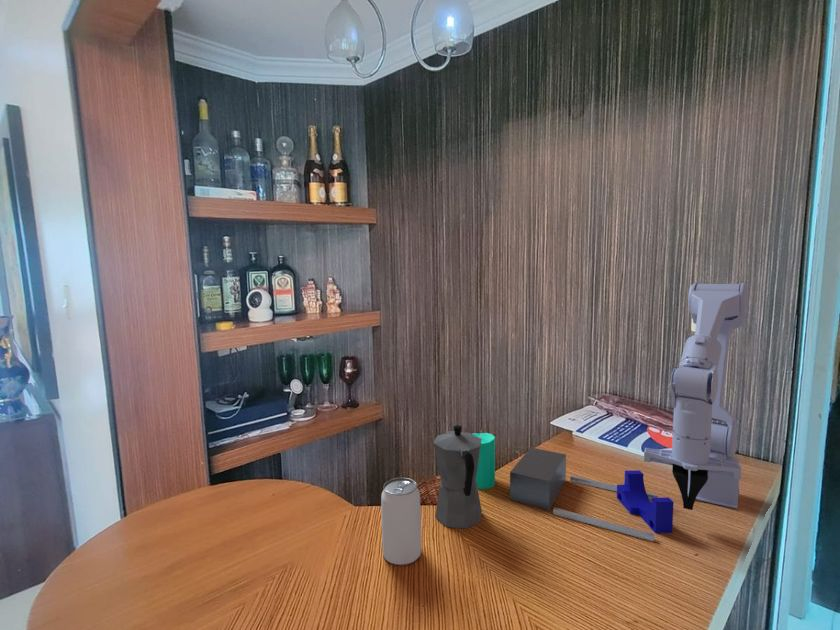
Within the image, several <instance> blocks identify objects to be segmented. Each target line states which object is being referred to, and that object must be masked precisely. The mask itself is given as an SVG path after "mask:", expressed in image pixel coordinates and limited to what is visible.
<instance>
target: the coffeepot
mask: <svg viewBox="0 0 840 630" xmlns="http://www.w3.org/2000/svg"><path fill="white" fill-rule="evenodd" d="M452 427H453V429H452V430H445V433H443V434H438V435H436V437H435V439H434V441H433V448H434V454H435V460H436V465H437V472H438V476H439V477H440V483H439V490H438V495H437V496H438V497H437V501H436V502H437V503H436V507H435V508H436V510H435V516H434V517H435V519H436V520H437V521H438V522H439V523H440V524H441V525H443V526H445V527H448V528H451V529H458V530H460V529H461V530H463V529H469V528H473V527H474V526H476V525H478V524H479V523H481V520H482V514H483V513H482V511H483V510H482V504H481V500H480V494H479V489H478V487H477V483H476V475H477V469H478V461H479V454H480V447H481V440H482V439H481V438H479V437H477V436H475V435H473V433H471V432H462V428H463V426H462V425H459V424H457V425H453V426H452Z"/></svg>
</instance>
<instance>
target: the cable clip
mask: <svg viewBox="0 0 840 630" xmlns="http://www.w3.org/2000/svg"><path fill="white" fill-rule="evenodd" d="M616 485H617V492H616V499H617V500H618V501H619V503H621V505H622V506H623V507H624V508H625V510H626V511H627V512H628V511H629V512H628V513H629V515H638V516H639V517H640V516H641V517H640V518H642V520H643V521H644V522H645V523H646V525H647V526H648V527H649V528H650V529H651V530H652V532H654V533H653V534H673V525H674V524H673V523H674V504H675V503H674V501H673V500H672V499H671V498H670V497H658V498H652V500H650V499H649V498H648V496H647V493H646V492H647V491H646V486H645V480H644V473H643V472H642V471H641V470H639V469H638V470H636V469H635V470H624V483H623V484H616Z"/></svg>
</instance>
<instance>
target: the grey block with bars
mask: <svg viewBox="0 0 840 630" xmlns="http://www.w3.org/2000/svg"><path fill="white" fill-rule="evenodd" d="M566 461H567V454H565V453H562V452H557V451H550V450H545V449H540V448H537V447H530V448H529V449H528V450H527V451H526V452H525V453H524V454H523V456H522V457H521V458H520V459H519V460H518V462H517V463H516V465H514V466H513V468H512V469H511V470H510V471H509V500H510V501H512V502H516V503H520V504H522V505H527V506H532V507H535V508H538V509H542V510H546V511H550V510H551V508H552V506H553V505H554V503H555V501H556V499H557V497H558V496H559V493H560V491H561V490H562V488H563V486H564V484H565V482H566V481H567V480H566V479H567V476H566V475H567V471H566V470H567V462H566ZM569 479H570V482H573V483H577V484H582V485H586V486H590V487H595V488H598V489H603V490H607V491H612V492H616V493H617V485H618V484H611V483H607V482H605V481H604V482H603V481H598V480H595V479H589V478H585V477H581V476H576V475H570V478H569ZM646 493H647V496H648V498H649V500H650V499H652V498H659V494H657V493H652V492H647V491H646ZM552 510H553V511H552V514H553V515H556V516H558V517H561V518H566V519H568V520H572V521H576V522H579V521H580V523H584V524H586V525H590V524H591V525H590V526H595V527H599V528H602V529H606V530H608V531H613V532H617V533H620V534H624V535H627V536H630V537H635V538H639V539H643V540H644V541H650V542H651V543H653V542H654V537H655V533H652V532H648V531H645V530H640V529H636V528H634V527H629V526H625V525H622V524H618V523H615V522H610V521H606V520H603V519H598V518H596V517H592V516H588V515H584V514H579V513H577V512H573V511H570V510H565V509H562V508H559V507H555V506H554V508H553V509H552Z"/></svg>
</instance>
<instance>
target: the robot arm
mask: <svg viewBox="0 0 840 630" xmlns="http://www.w3.org/2000/svg"><path fill="white" fill-rule="evenodd" d="M749 294H750V293H749V285H747V284H746V283H745V282H741V283H698V282H693V283H692V284H691V285H690V286H689V290H688V295H687V296H688V297H687V300H688V302H687V305H688V309H689V312H690V317H691V319H692V322H693V324H695V331H694V335H692V336H689V337H688V338H687V339H686V341H685V344H684V348H683V351H682V353H681V357H680V358H681V359H680V361H679V364H678V368H676V367H674V368H672V373H671V375H670V382H669V383H670V385H669V387H670V395H671V407H673V417H672V418H673V419H672V420H673V421H672V440H671V449H658V448H649V447H644V450H643V451H644V452H643V453H644V454H643V462H647V463H651V462H652V463H657V464H658V463H659V464H665V465H668V466H669V465H670V466H672V468H671V469H672V470H671V473H672V476H673V478H674V480H675V481H676V483H677V486H678V488H679V491H680V496H681V499H682V505H683V507H682V508H683V509H686V510H690V511H693V510H694V504H695V502H696V501H699V502H704V503H710V504H715V505H720V506H721V507H722V506H723V507H728V508H732V509H738V508H739V505H738V504H739V502H738V501H739V495H740V480H742V467H741V464H740V461H739V458H738V456H737V457H736V456H734V455H735V453H736V449H737V443H738V442H737V441H738V421H737V420H736V417H735V416H734V415H733V414H732V413H731V412H729V411H728V410H727V409H726V408H725V407H723V402H724V401H723V400H724V396H725V395H724V393H725V385H726V375H727V367H728V357H729V349H730V342H731V341H730V340H731V337H732V335H733V333H734V331H735V330H736V329H738V328H742V327H744V326H745V322H746V321H747V316H748V315H747V313H748V306H749ZM715 421H716V422H715Z"/></svg>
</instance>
